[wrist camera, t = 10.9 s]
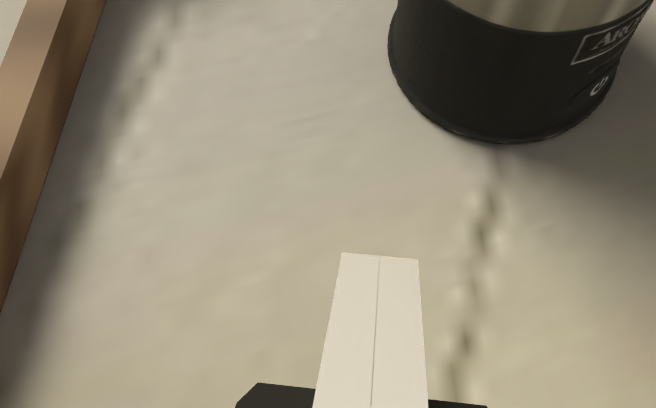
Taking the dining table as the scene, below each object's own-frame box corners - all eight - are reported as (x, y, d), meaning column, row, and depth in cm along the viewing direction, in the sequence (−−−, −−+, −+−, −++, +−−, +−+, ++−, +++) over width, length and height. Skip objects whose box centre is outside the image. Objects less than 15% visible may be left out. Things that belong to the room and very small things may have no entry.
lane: (923, 716, 16) (1177, 821, 11) (-156, 555, 19) (-342, 581, 14) (724, -183, 31) (796, -313, 26) (131, -201, 33) (92, -322, 28)
